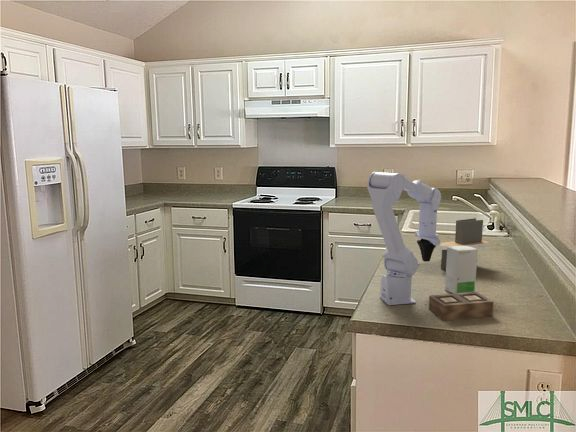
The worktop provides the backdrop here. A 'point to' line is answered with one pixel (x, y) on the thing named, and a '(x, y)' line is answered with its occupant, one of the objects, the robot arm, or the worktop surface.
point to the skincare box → (461, 269)
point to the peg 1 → (448, 299)
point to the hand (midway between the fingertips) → (426, 260)
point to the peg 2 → (472, 297)
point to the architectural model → (464, 237)
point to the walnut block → (460, 306)
